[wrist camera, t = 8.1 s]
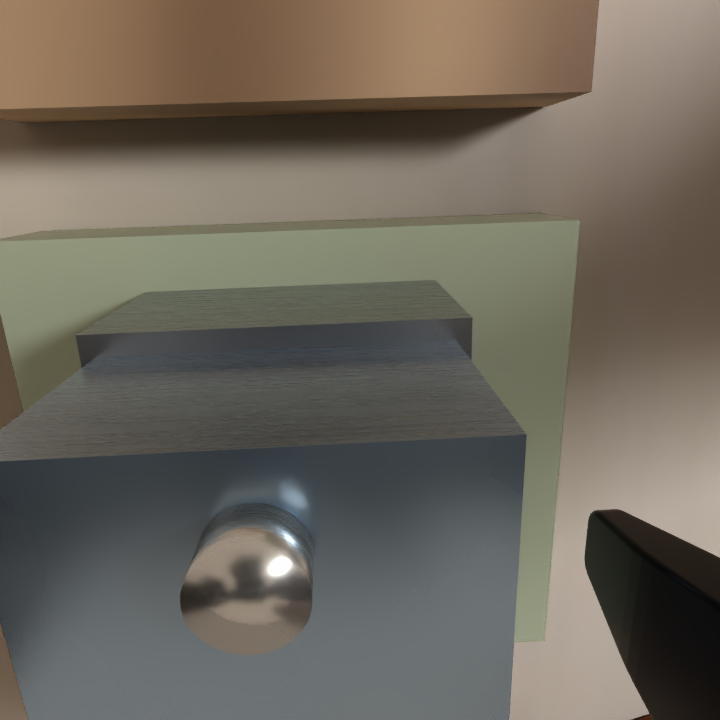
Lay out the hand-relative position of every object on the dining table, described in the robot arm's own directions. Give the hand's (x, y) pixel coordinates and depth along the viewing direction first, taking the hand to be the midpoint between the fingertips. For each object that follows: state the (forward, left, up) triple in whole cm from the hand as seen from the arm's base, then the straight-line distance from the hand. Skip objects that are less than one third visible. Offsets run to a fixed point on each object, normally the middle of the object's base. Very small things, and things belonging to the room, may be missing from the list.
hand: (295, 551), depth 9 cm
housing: (0, 0, -2) cm, 3 cm away
